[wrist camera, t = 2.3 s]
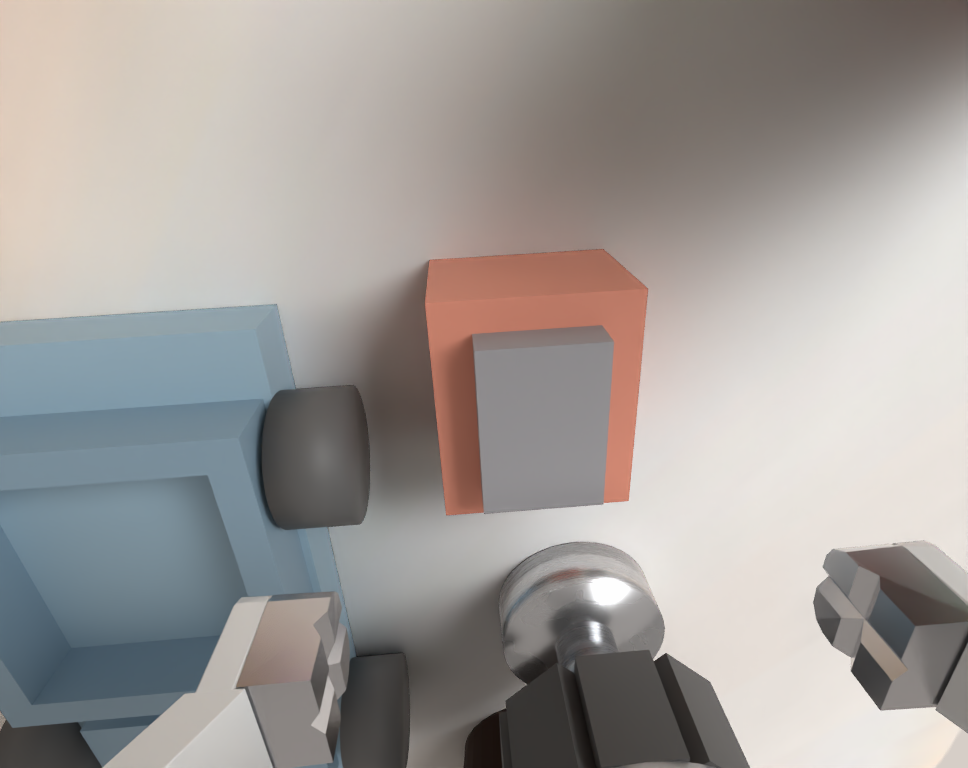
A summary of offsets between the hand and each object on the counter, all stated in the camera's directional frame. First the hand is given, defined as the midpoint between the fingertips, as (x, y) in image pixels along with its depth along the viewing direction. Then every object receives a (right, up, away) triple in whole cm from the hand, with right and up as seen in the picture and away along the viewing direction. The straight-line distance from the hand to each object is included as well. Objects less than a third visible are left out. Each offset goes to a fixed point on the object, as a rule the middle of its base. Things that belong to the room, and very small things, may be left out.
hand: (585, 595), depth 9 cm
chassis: (-12, -3, +11) cm, 17 cm away
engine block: (-1, +5, +8) cm, 9 cm away
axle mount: (+2, -5, +13) cm, 14 cm away
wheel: (+2, -7, +8) cm, 11 cm away
